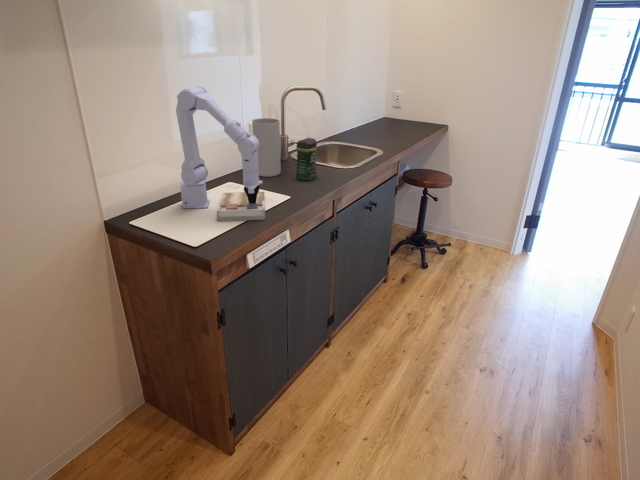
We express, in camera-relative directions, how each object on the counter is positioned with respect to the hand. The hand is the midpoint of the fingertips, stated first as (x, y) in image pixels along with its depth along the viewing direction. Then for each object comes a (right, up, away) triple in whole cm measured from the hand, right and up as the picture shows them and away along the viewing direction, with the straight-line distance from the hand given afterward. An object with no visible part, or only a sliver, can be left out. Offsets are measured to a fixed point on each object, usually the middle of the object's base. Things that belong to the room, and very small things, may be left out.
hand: (252, 205), depth 157 cm
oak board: (-5, +1, +9) cm, 10 cm away
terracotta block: (-7, -3, -3) cm, 8 cm away
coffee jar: (+19, +16, +40) cm, 47 cm away
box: (-4, -4, -1) cm, 6 cm away
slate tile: (0, -3, -2) cm, 3 cm away
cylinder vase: (0, +19, +46) cm, 50 cm away
